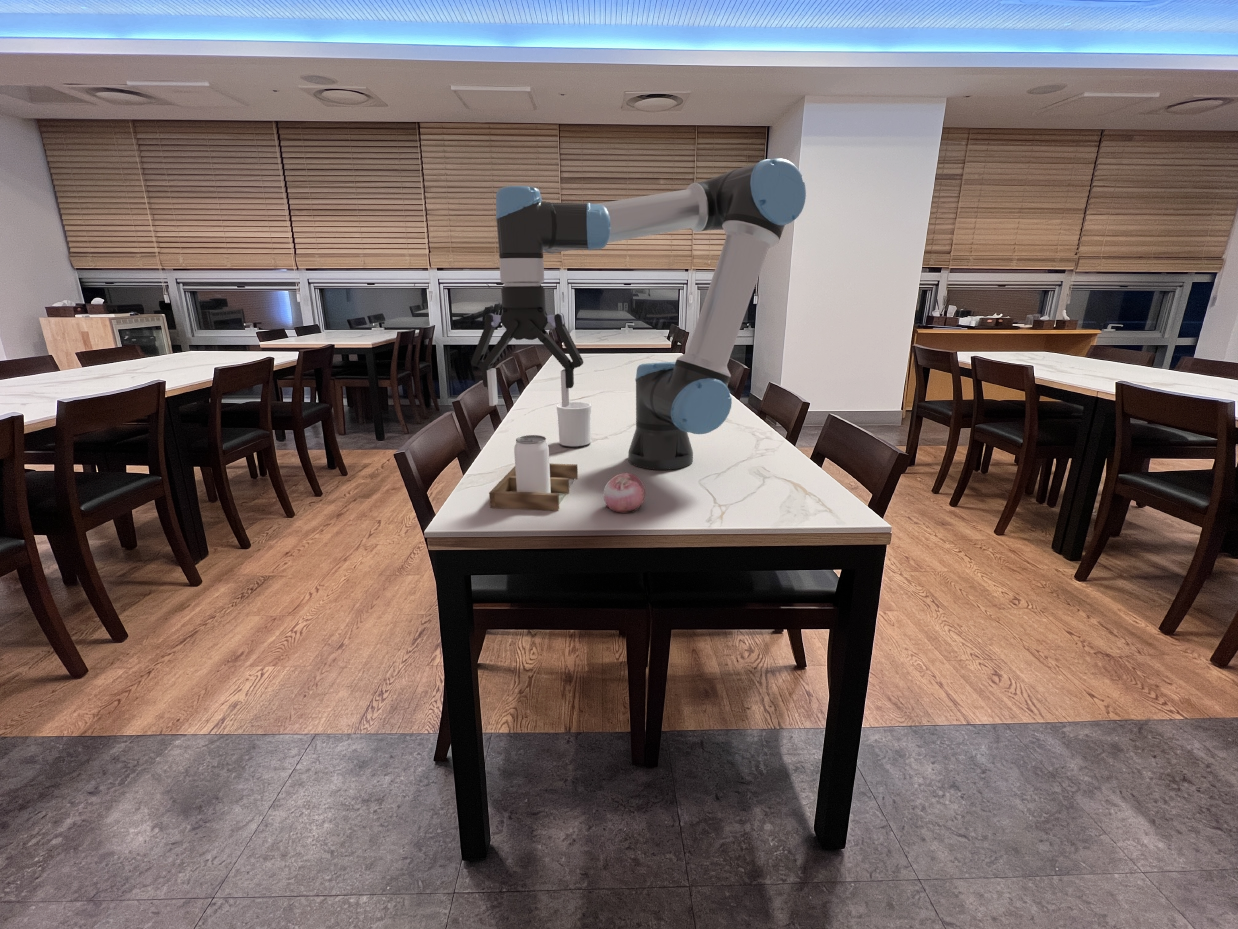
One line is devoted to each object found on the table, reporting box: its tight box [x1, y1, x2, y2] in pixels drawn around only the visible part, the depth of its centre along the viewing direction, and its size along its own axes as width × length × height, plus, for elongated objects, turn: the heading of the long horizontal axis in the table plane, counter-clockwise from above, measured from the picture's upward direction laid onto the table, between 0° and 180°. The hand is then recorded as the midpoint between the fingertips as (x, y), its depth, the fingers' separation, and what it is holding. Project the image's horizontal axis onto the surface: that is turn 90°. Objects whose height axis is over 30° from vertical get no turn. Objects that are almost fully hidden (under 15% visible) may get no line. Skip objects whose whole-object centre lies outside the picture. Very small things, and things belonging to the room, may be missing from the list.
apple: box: [602, 472, 647, 514], centre depth 108 cm, size 8×8×7 cm
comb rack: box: [488, 462, 579, 511], centre depth 118 cm, size 13×19×3 cm
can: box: [513, 434, 551, 493], centre depth 112 cm, size 6×6×12 cm
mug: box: [556, 401, 592, 449], centre depth 151 cm, size 11×9×10 cm
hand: (529, 405), depth 108 cm, fingers open, 13 cm apart
